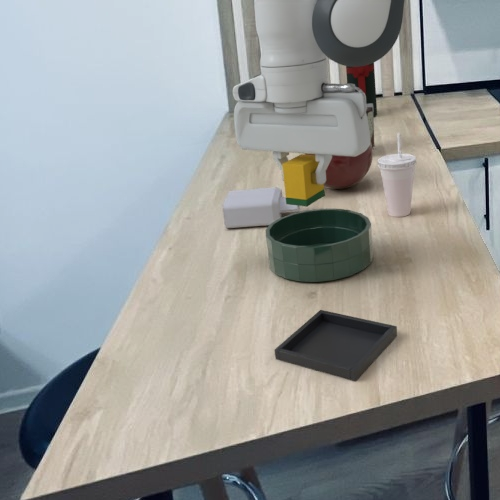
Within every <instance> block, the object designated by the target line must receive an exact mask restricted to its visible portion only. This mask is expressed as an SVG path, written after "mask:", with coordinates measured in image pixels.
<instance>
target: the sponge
mask: <svg viewBox="0 0 500 500" xmlns="http://www.w3.org/2000/svg"><path fill="white" fill-rule="evenodd" d="M288 160H289V161H287V162H285V163H283V164H282V166H283V175H284V181H283V183H284V184H283V185H284V194H285V197H286V204H289V205H297V206H299V207H309V206H310V205H312V204H313V203H315V202H317V201H318V200H320V199H321V198H323V197H325V196H326V192H325V186H324V184H322V185H318V184H312V182H311V172H313V171H315V170H316V169H317V167H318V164H319V162H317V161H316V158H315V155H304V153H300V154H299V155H297V156H295V157H293V158H291V159H288Z"/></svg>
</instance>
